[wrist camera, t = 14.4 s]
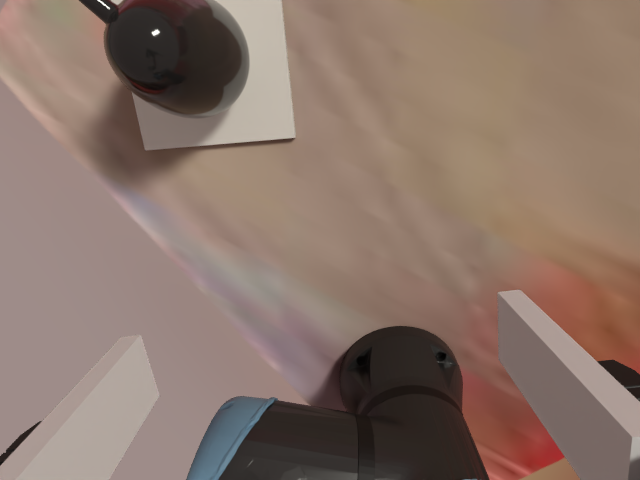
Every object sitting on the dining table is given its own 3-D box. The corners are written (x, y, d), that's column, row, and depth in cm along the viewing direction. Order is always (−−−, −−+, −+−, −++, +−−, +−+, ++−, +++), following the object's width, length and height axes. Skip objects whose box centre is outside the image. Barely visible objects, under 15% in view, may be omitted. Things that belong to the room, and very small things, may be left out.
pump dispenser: (192, -26, 37) (102, -103, 22) (278, 57, 39) (246, 35, 25) (131, 64, 40) (16, 46, 25) (215, 137, 42) (153, 159, 27)
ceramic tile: (296, 137, 42) (295, 137, 41) (148, 149, 43) (144, 150, 42) (277, -42, 37) (276, -45, 36) (109, -23, 38) (105, -26, 37)
